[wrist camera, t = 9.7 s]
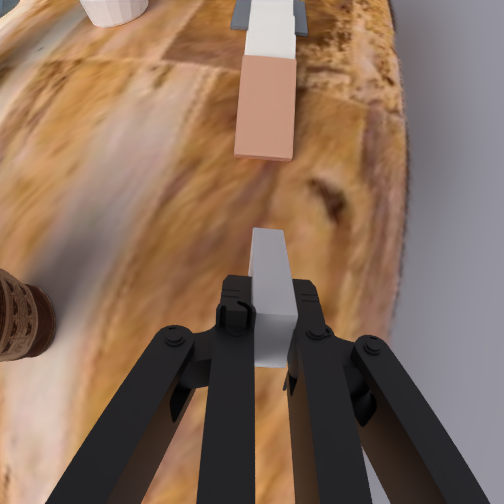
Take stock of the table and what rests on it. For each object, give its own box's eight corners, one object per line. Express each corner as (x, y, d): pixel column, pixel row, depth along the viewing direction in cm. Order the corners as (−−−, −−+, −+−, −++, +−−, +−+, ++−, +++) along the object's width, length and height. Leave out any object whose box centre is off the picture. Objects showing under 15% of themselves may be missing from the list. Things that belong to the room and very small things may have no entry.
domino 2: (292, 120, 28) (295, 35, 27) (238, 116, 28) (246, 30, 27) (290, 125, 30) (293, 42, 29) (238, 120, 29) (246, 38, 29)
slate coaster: (307, 36, 34) (307, 33, 34) (230, 29, 34) (230, 25, 34) (303, 4, 37) (304, 1, 37) (237, -2, 37) (238, -5, 36)
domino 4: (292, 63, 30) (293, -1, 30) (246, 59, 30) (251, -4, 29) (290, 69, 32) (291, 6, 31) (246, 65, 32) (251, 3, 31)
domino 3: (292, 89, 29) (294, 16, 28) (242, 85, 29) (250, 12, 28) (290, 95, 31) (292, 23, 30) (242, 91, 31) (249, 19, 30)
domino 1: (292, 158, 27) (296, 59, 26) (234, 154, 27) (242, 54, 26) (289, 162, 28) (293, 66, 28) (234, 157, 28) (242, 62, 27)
